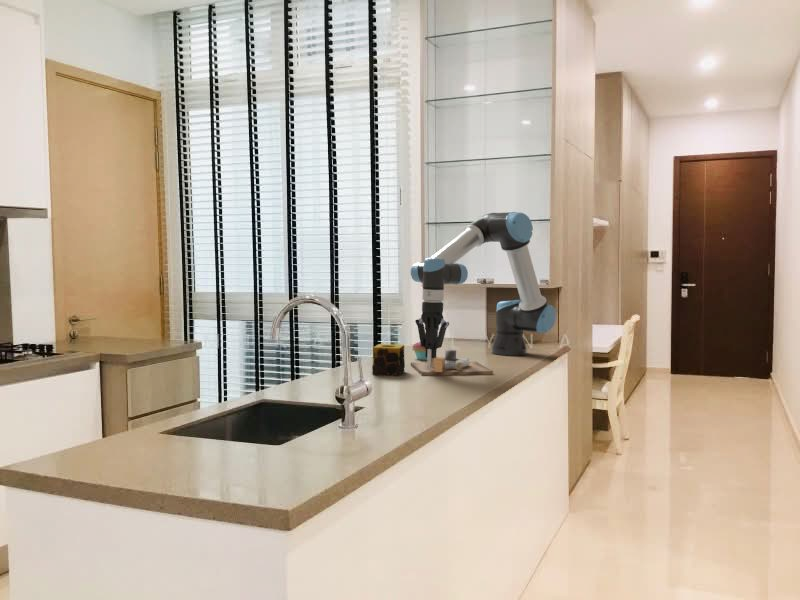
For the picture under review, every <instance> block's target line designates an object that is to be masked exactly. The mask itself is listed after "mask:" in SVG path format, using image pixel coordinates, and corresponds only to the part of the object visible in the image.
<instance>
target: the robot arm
mask: <svg viewBox="0 0 800 600" xmlns="http://www.w3.org/2000/svg"><path fill="white" fill-rule="evenodd" d="M533 229H534V228H533V223H532V220H531V219H530V217H529V215H527V214H525V213H523V212H517V211H511V212H490V213H486V214H484V215H482V216H481V217H478V218H477V219H474V220H473V221H472V222H470V223H469V224H468V225H466V226H465V227H464V229H463V231H462V232H461V233H459V235H457V236H456V237H455V238H454V239H452V240H451V241H450V242H448V243H447V244H446V245H444V246H443V247H442V248H441V249H440V250H438V251H437V252H436V253H434V254H433V255H431V256H430V257H425V259H424V260H423V261H422V262H421V261H419V262H415V263H413V265H412V266H411V268H410V276H411V279H412V280H413V281H414V282H415V283H422V302H421V312H422V314H421V315H420V318H418V319H415V321H414V322H415V324H416V326H417V330H418V336H419V342H420V343H421V346H423V347H425V348H426V355H425V356H426V357H427V360H426V362H427V367H429V368H431V367H434V358H435V357H437V350H438V349H440V348H442V347H443V346H442V345H443V342H444V339H445V335H446V332H447V328H448V326H450V322H449V321H446V320H445V319H444V314H443V313H444V303H443V301H444V295H445V294H444V292H445V291H444V289H445V285H461V284H463V283H465V282H466V281H467V279H468V275H469V274H468V268H467V267H466V266H465V265H464V264H462V263H458V261H459V260H460V259H462V258H463V257H464V256H466V255H467V253H469V252H470V251H471V250H473V249H474V248H476V247H481V246H482V245H484V244H485V243H491V242H498V243H499V244H500V247H501V250H502V251H504V252H506V255H507V258H508V260H509V265H510V269H511V271H512V276H513V278H514V282H515V286H516V288H517V292H518V295H519V299H515V300H502V301H499V302H497V303H496V310H495V314H496V315H495V319H496V320H495V323H496V324H495V326H496V327H495V337H494V340H493V343H492V346H491V354H493V355H494V354H495V355H499V356H524V355H525V356H526V355H527V345H526V342H525V338H524V332H532V333H539V334H540V333H543V334H545V333H548V332H550V331H551V330H553V328H554V326H555V322H556V320H557V319H556V318H557V312H556V308H555V307H554V306H553V305H551V304H548V301H547V298H546V297H545V296H543V295H542V294H541V289H540V286H539V283H538V282H539V281H538V278H537V275H536V271H535V269H534V265H533V262H532V261H533V260H532V258H531V253H530V251H529V250H530V249H529V246H528V245H529V244H530V242H531V238H532V236H533ZM439 326H440V327H439Z"/></svg>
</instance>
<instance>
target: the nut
mask: <svg viewBox="0 0 800 600" xmlns="http://www.w3.org/2000/svg"><path fill="white" fill-rule="evenodd" d="M456 362H462V368H464V367H466V366H468V365H469V362H470V358H467V357H456V361H448V360H445V356H436V357H435V358H434V372H444V371H446V370H448V369H456Z"/></svg>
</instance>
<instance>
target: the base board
mask: <svg viewBox="0 0 800 600" xmlns="http://www.w3.org/2000/svg"><path fill="white" fill-rule="evenodd" d="M444 354H445V355H444V357H445V360H448V361H456V358H457V350H454V349H446V350H445V351H444ZM410 367H412V369H414V370H415V371H417V373H418V374H420V375H421V376H423V375H425V376H426V375H429V376H478V375H479V376H480V375H481V376H482V375H484V376H485V375H486V376H487V375H490V376H491V375H494V371H493V370H491V369H490V368H488V367H486V366H485V365H483V364H481V363H480V362H478V361H469V365H468V366H466V367H464V368H462V371H456V369H448V370H446V371H444V372H434V367H431V368H429V367H427V361H426V362H424V361H423V362H421V361H420V362H419V361H416V362H410Z"/></svg>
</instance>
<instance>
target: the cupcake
mask: <svg viewBox="0 0 800 600" xmlns="http://www.w3.org/2000/svg"><path fill="white" fill-rule="evenodd" d="M411 350H412V351H414V353H415V355H416V359H417V360H420V361H427V357H426V356H425V355H426V348H425V347H423V346H421V343H420V341H419V342H415V344H413V345H412V349H411Z"/></svg>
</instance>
